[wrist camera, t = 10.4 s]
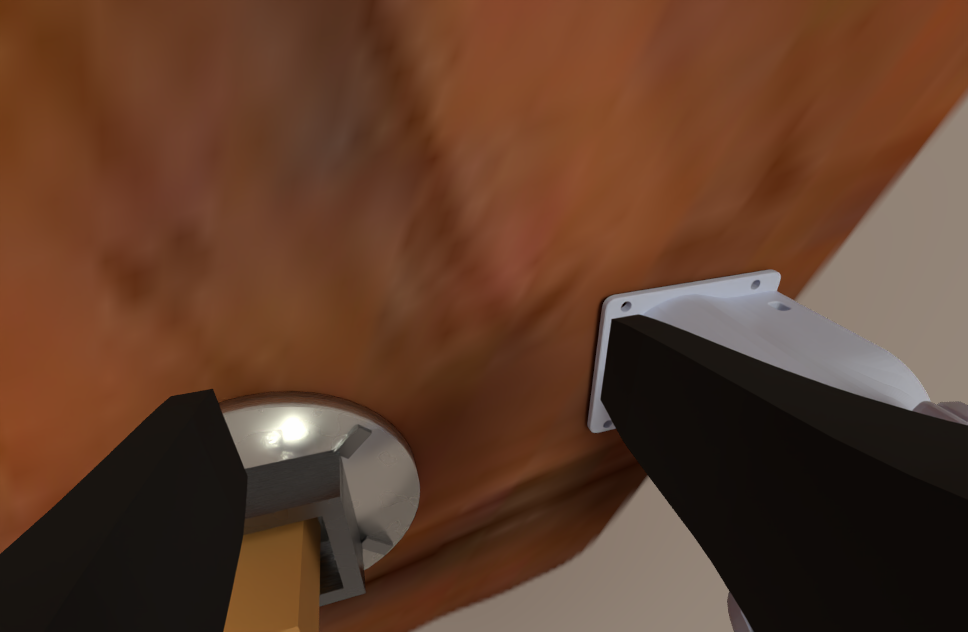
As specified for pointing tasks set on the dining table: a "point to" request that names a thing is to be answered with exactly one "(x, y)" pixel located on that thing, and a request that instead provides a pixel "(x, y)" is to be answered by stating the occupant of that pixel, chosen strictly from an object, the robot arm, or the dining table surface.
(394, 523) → the square-hole metal disc
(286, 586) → the orange square peg
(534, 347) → the dining table surface
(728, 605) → the robot arm
